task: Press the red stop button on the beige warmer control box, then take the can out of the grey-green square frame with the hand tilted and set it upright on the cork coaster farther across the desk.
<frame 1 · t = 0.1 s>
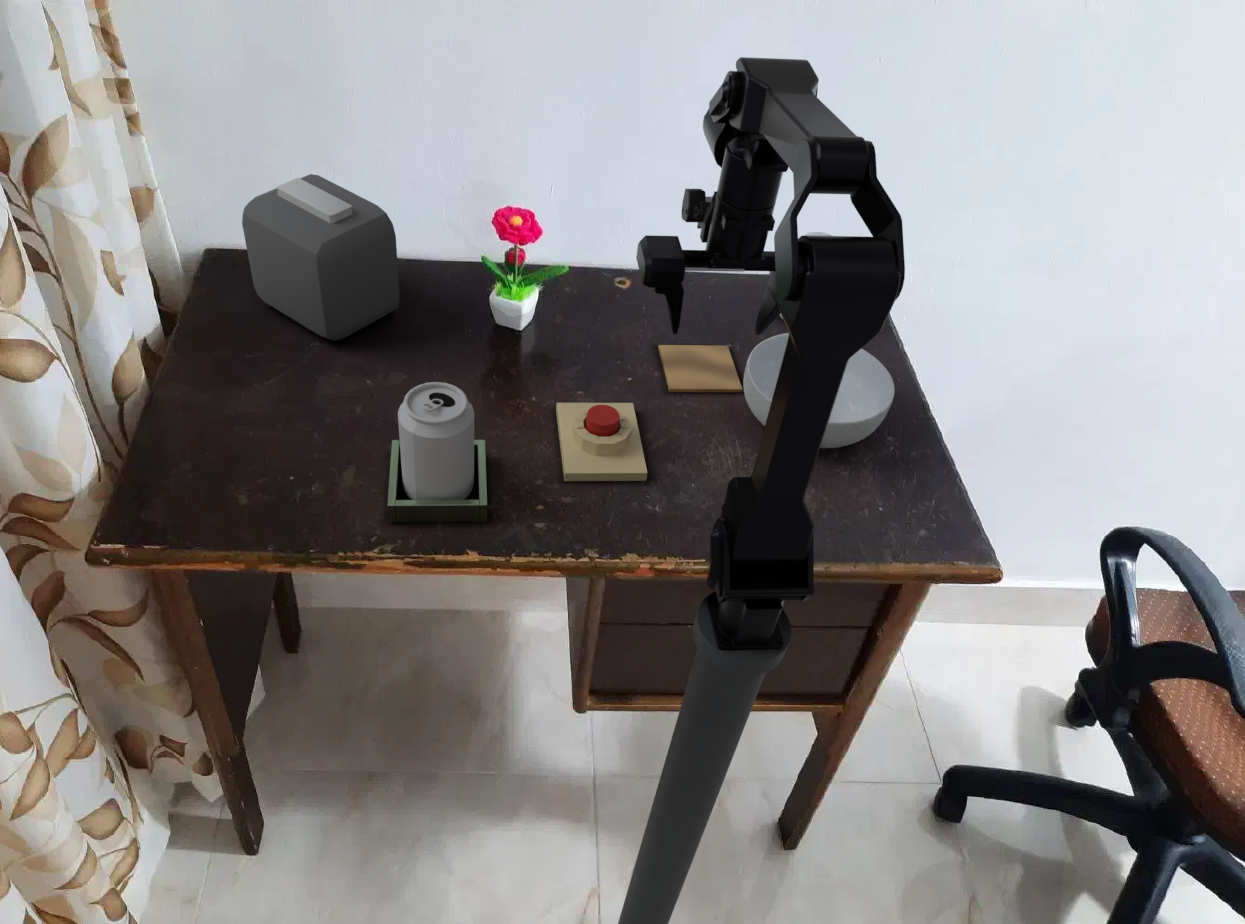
hand: (716, 332, 102), 12 cm above the table, tool pointing down, fingers open, 9 cm apart
warmer control: (599, 444, 107), on the table
alarm clock: (324, 312, 122), on the table
stop button: (602, 421, 105), point 3 cm above the table, slide at 0.1 cm
pill bottle: (799, 317, 128), on the table
can: (438, 489, 101), resting in grey-green square frame
cereal bowl: (804, 423, 112), on the table
cork coaster: (698, 369, 118), on the table
grey-green square frame: (438, 488, 101), on the table
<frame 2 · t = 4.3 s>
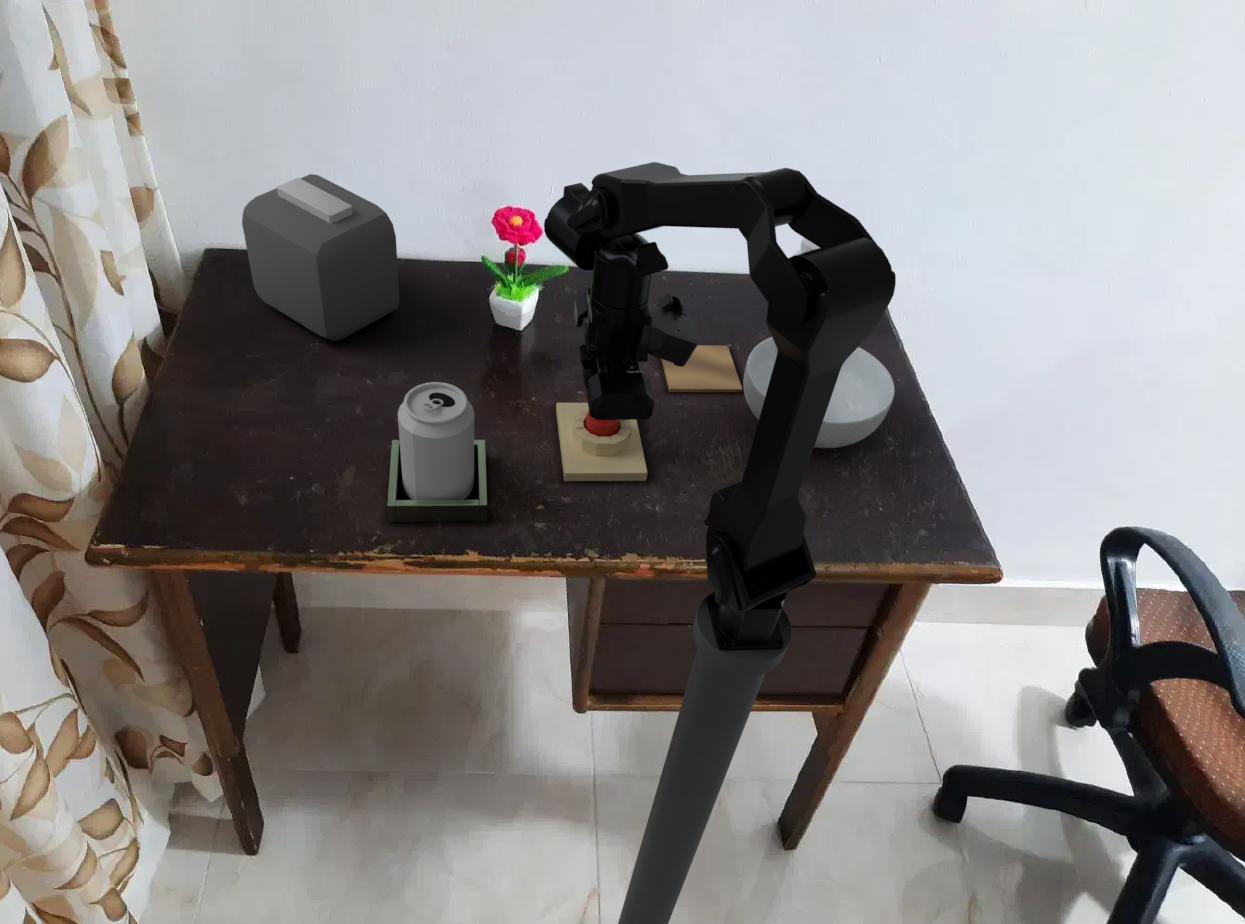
hand: (603, 416, 104), 4 cm above the table, tool pointing down, fingers closed, pressing on stop button
stop button: (602, 422, 105), point 3 cm above the table, slide at -0.1 cm, touching gripper
everything else where it was.
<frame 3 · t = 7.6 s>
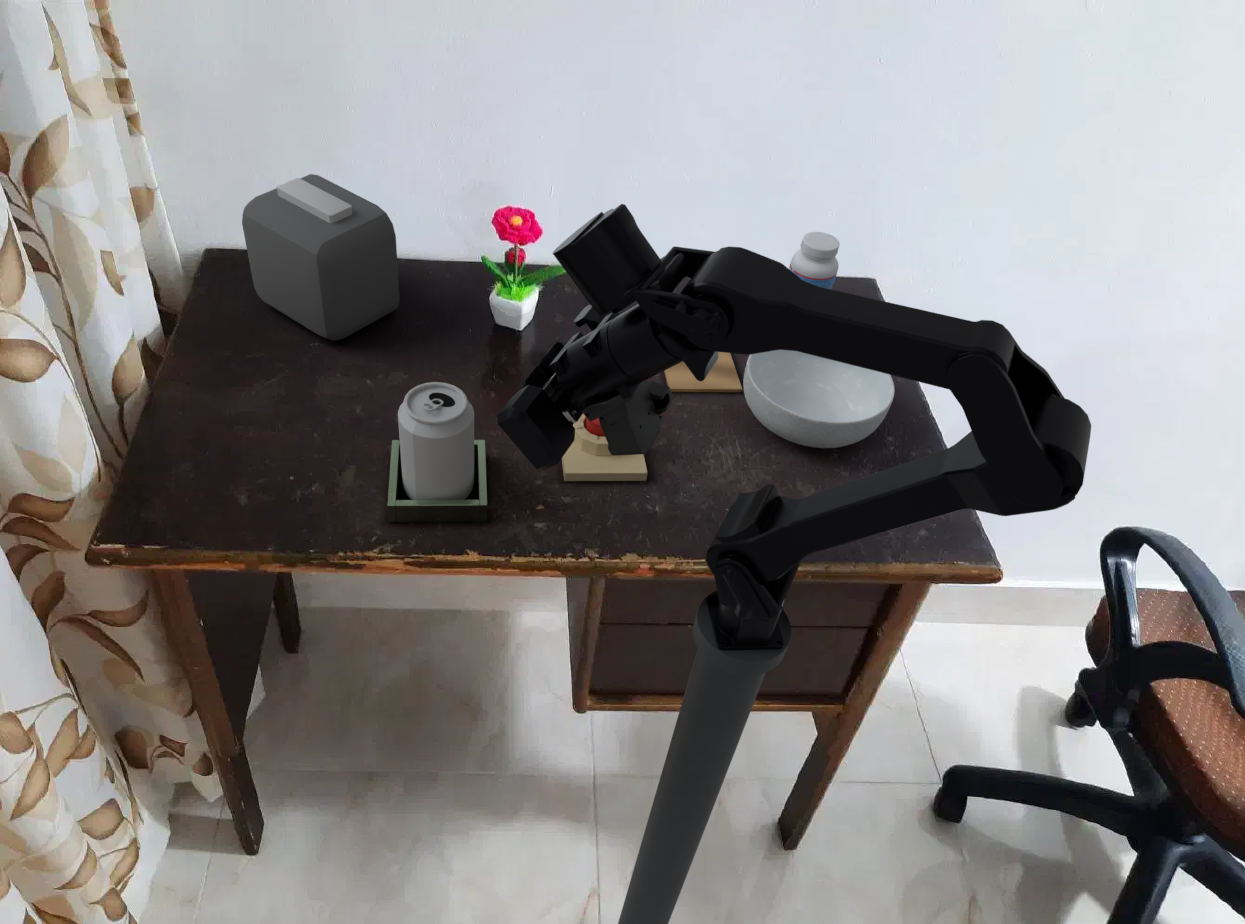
hand: (513, 412, 89), 13 cm above the table, tool tilted 45°, fingers closed
stop button: (602, 421, 105), point 3 cm above the table, slide at 0.1 cm
everything else where it was.
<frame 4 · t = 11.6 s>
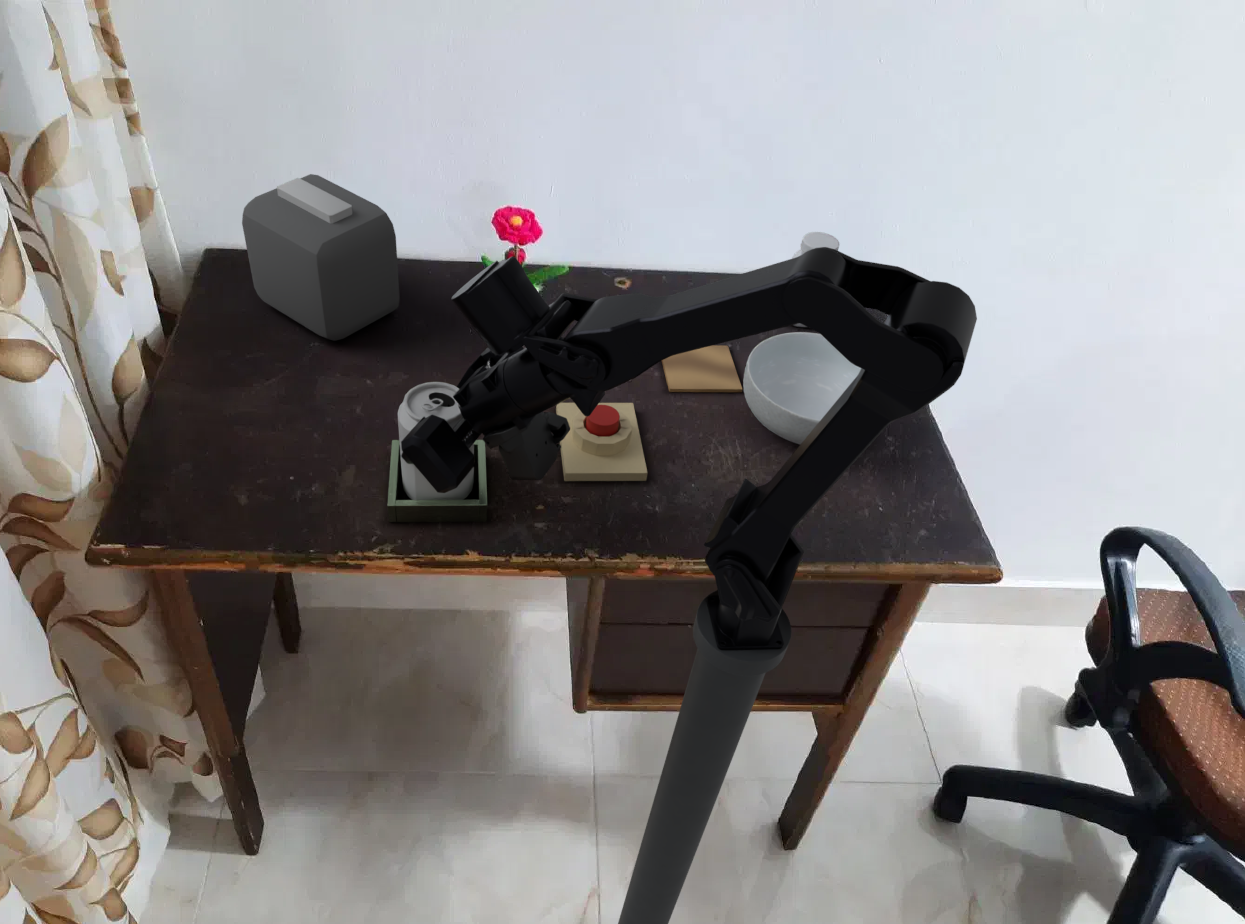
hand: (424, 436, 96), 7 cm above the table, tool tilted 45°, fingers closed on can, 7 cm apart
can: (438, 489, 101), resting in grey-green square frame, touching gripper
everything else where it was.
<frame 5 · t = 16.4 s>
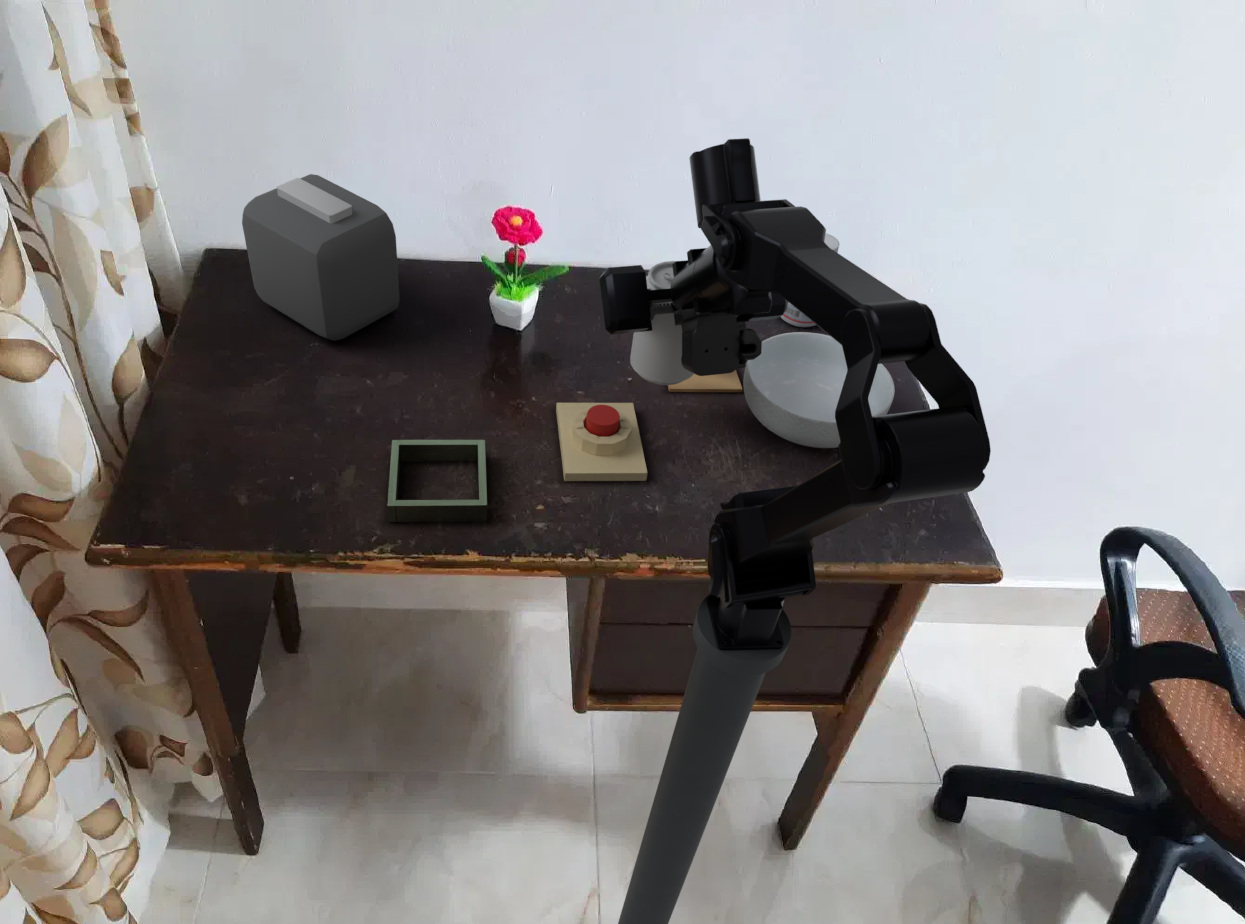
hand: (666, 312, 103), 13 cm above the table, tool tilted 45°, fingers closed on can, 7 cm apart
can: (662, 370, 106), point 7 cm above the table, touching gripper
everything else where it was.
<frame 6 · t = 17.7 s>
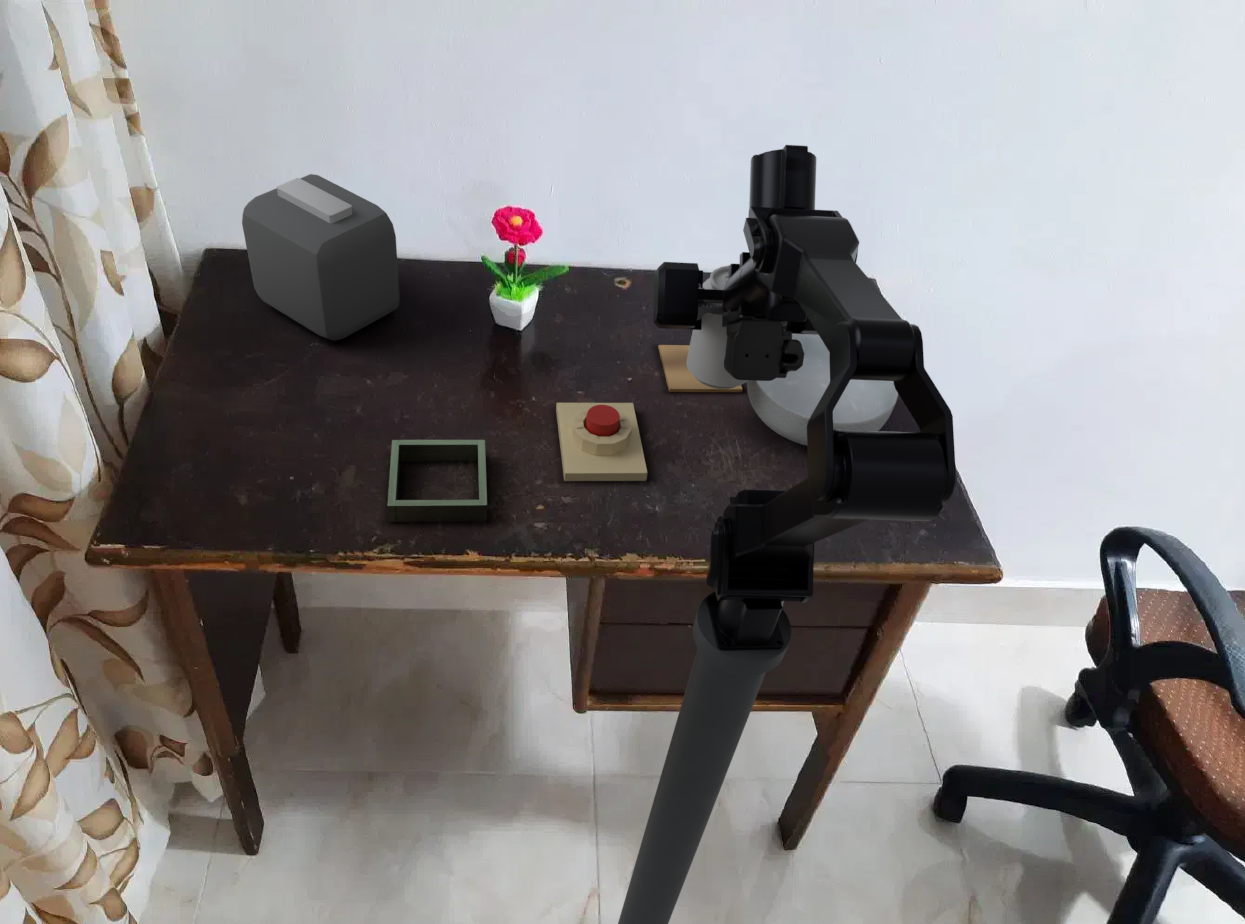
hand: (727, 316, 103), 13 cm above the table, tool tilted 45°, fingers closed on can, 7 cm apart
can: (717, 374, 107), point 6 cm above the table, touching cereal bowl, gripper
cereal bowl: (808, 423, 112), on the table, touching can
everything else where it was.
when the fingers open (7 cm above the table, at t = 21.4 s): can stays where it is, resting on cork coaster.
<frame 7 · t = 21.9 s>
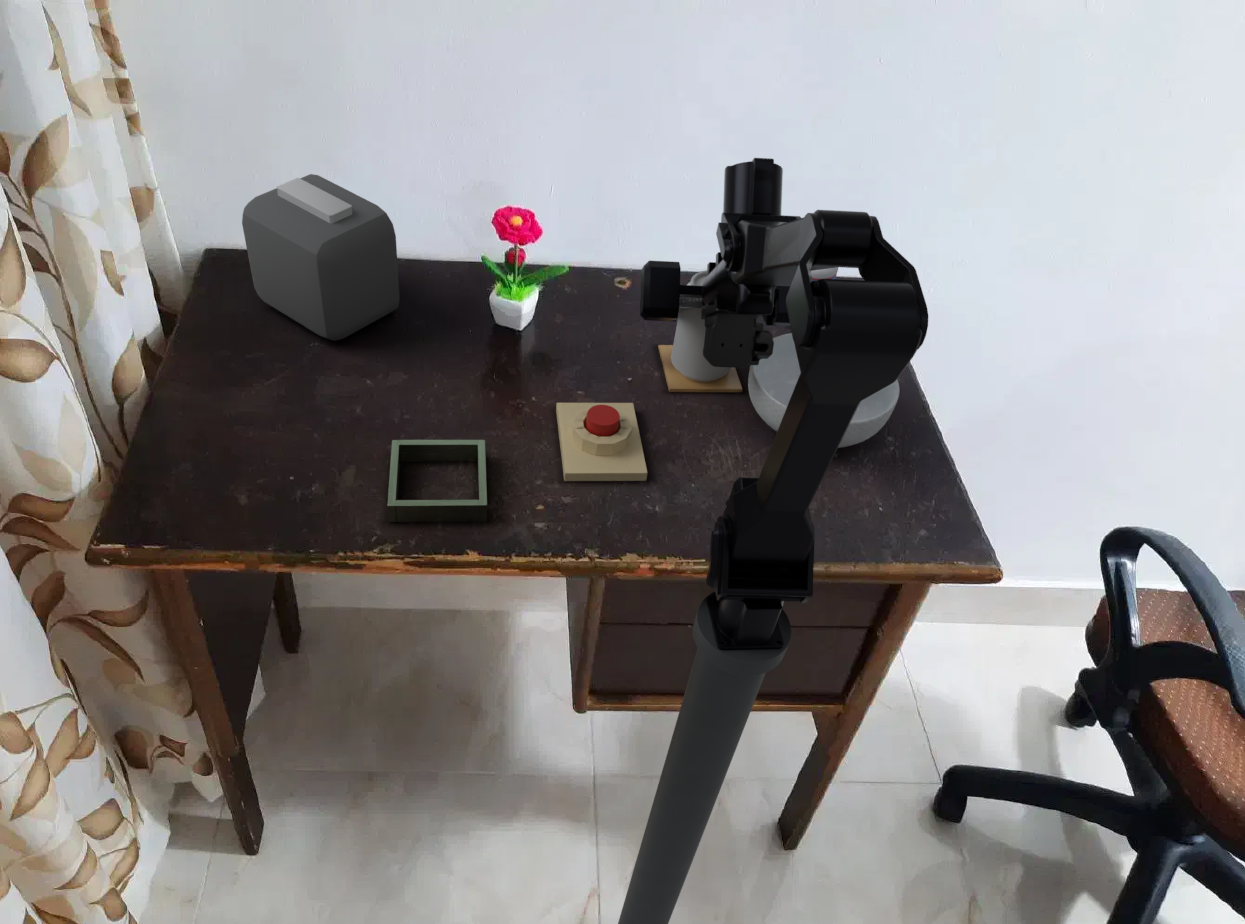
hand: (708, 309, 113), 8 cm above the table, tool tilted 45°, fingers open, 9 cm apart
can: (699, 368, 118), resting on cork coaster
cereal bowl: (809, 423, 112), on the table
everything else where it was.
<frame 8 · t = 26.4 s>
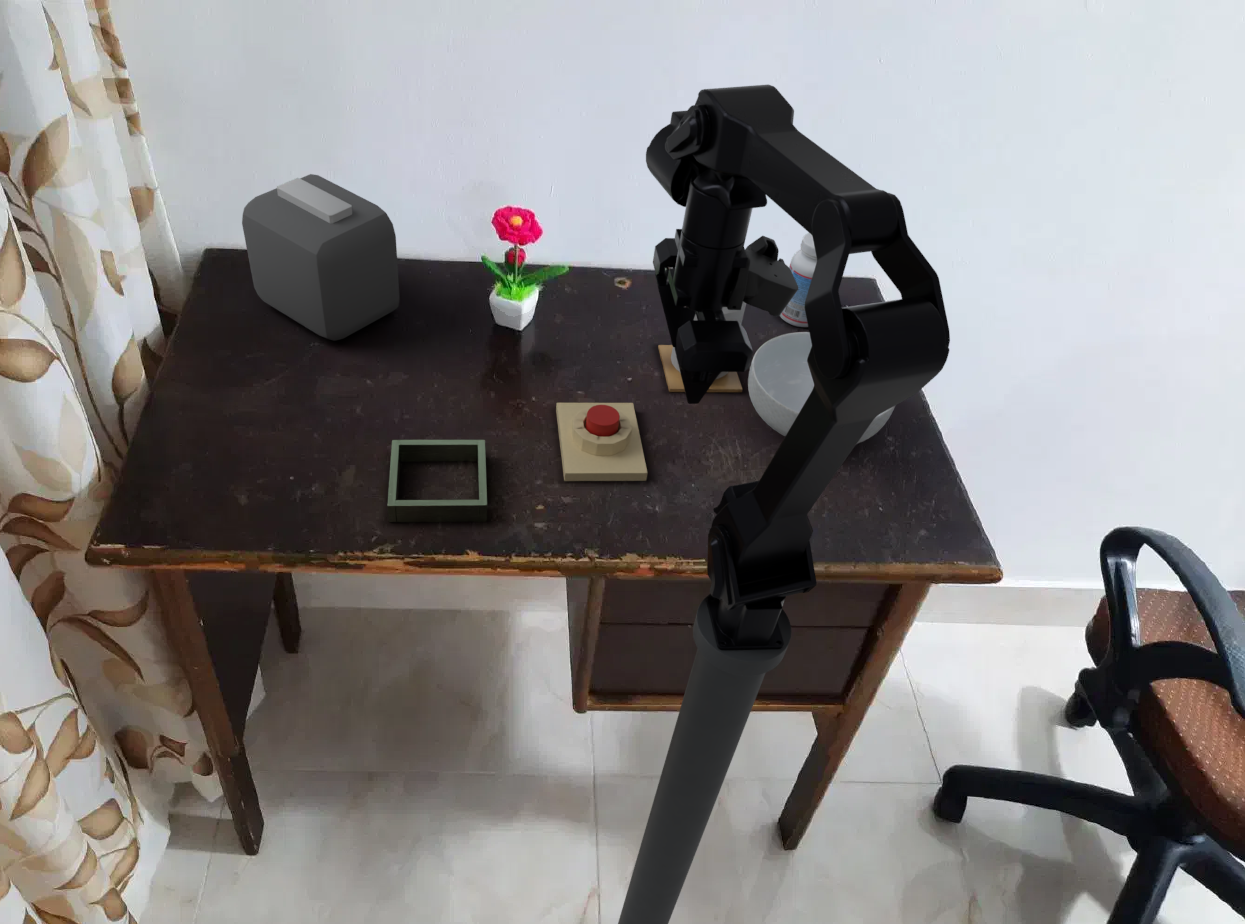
hand: (685, 373, 96), 13 cm above the table, tool pointing down, fingers open, 9 cm apart
nothing on the table moved.
at the end: stop button pushed in 1.1 cm at the most during the clip, back to where it started at the end; can 0.2 cm off-centre on the cork coaster, point 0.3 cm above the cork coaster's base; can tilted 0° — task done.
